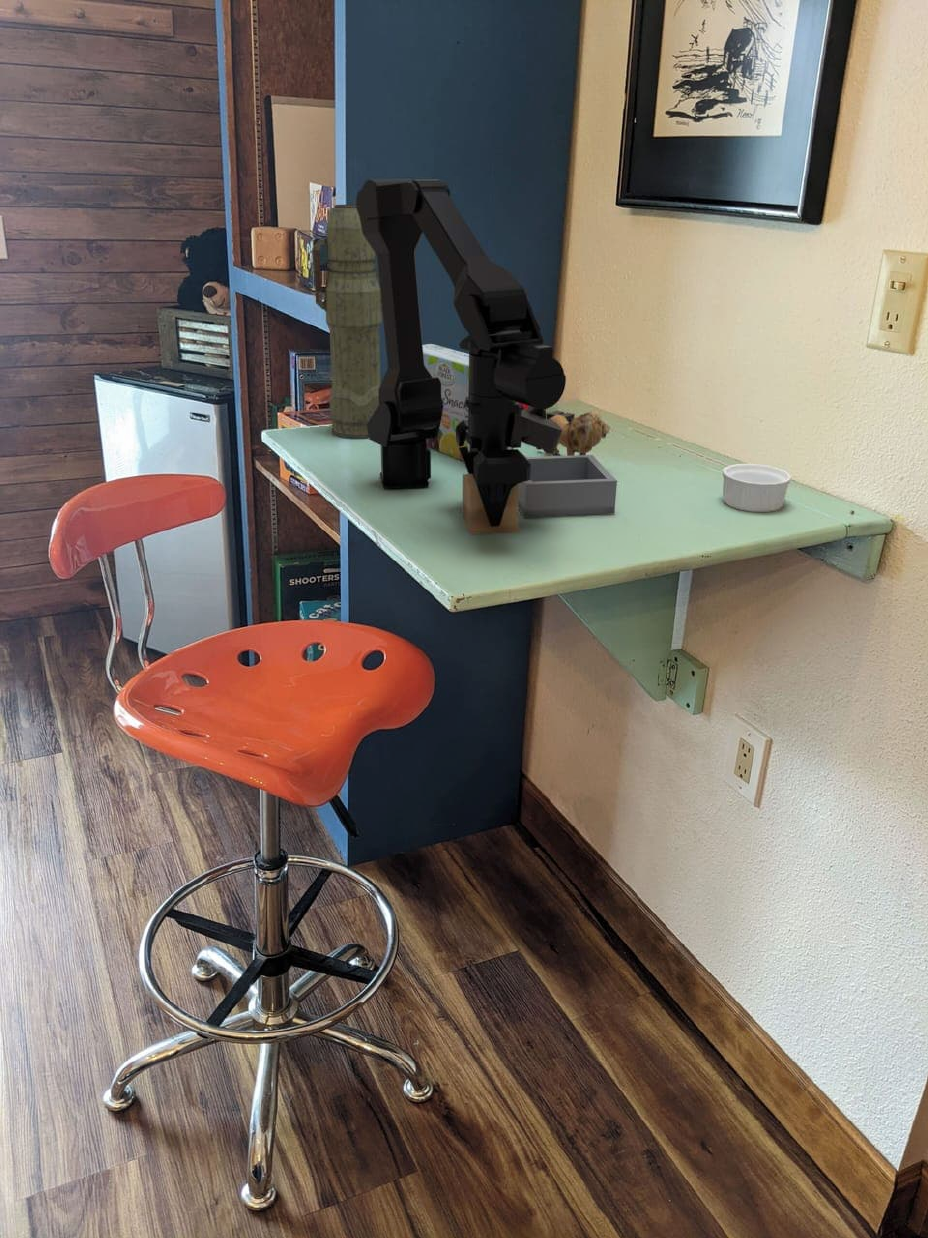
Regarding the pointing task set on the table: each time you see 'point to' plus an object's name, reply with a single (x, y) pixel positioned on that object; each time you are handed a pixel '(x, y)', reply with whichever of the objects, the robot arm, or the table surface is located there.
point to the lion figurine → (580, 433)
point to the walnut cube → (477, 516)
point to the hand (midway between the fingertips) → (489, 515)
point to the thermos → (350, 321)
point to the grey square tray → (567, 487)
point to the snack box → (449, 394)
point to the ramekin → (755, 487)
